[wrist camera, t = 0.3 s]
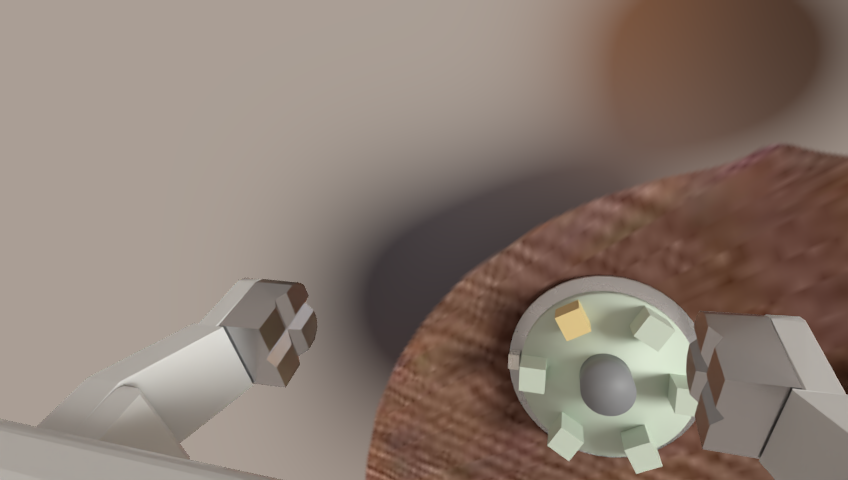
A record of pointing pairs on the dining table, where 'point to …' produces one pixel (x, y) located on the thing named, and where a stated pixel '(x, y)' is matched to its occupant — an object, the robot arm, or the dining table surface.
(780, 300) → the dining table surface
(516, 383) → the mount plate
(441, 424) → the dining table surface
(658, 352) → the green toy gear
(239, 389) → the robot arm
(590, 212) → the dining table surface
